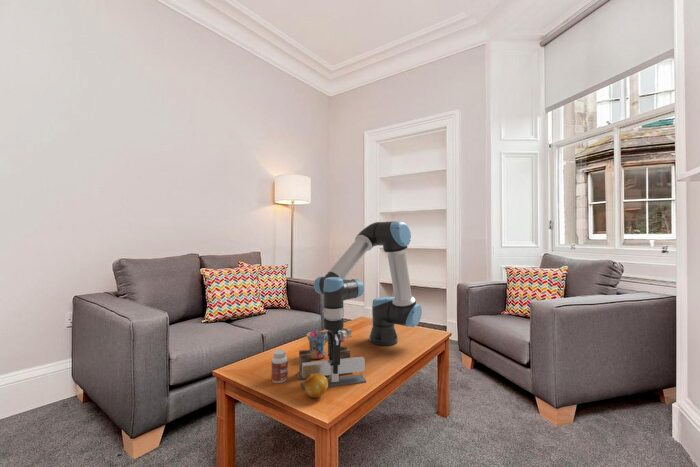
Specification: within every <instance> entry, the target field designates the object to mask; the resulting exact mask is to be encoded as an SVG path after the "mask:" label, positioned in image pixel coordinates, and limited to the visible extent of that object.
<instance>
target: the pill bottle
mask: <svg viewBox="0 0 700 467" xmlns="http://www.w3.org/2000/svg"><path fill="white" fill-rule="evenodd" d="M286 354H287V353H286V350H284V349H277V350H274V351H273V357H272V358H271V381H272V383H274V384H282V383H285V382H286V381H288V378H289V375H288V374H289V373H288V370H289V368H288V367H289V365H288V364H289V363H288V360H289V359H288V357H287V356H286Z"/></svg>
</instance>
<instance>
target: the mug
mask: <svg viewBox="0 0 700 467" xmlns="http://www.w3.org/2000/svg"><path fill="white" fill-rule="evenodd" d="M326 335H327V339H326V340H325V337H326ZM306 337H307V339H308V344H309V345H308V346H309V348H308V350H309V354H311V360H312V359H313V360H319V359H322V358H324V357H325V358H326V356H327V353H326V350H325V345H326V343H328V334H327V333H326V332H325V331H320V330H314V331H309V332H307V333H306Z"/></svg>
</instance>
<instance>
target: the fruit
mask: <svg viewBox="0 0 700 467" xmlns="http://www.w3.org/2000/svg"><path fill="white" fill-rule="evenodd" d="M304 381H305V390H304V391H305V393H306V394H307V395H308V397H309V398H310V397H311V398H314V399H316V398H320V397H321V396H323V395H324V394H325V393H326V392H327V390H328V388H329V387H328V381H327V377H325V376H324V375H322V374H320V373H313V374H309V375H308V376H307V377H306V379H305V380H304Z"/></svg>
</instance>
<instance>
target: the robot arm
mask: <svg viewBox="0 0 700 467" xmlns="http://www.w3.org/2000/svg"><path fill="white" fill-rule="evenodd" d="M411 238H412V234H411V230H410V228H409V226H408V225H407V224H406V223H405V222H403V221H375V222H373V223H371V224H369V225H367V226H365V227H364V228H363V229H362V230H361V231H360V232H359V233H358V234H357V235H355V237H354V242H353V243H351V245H350V247H349V248H347V250H346V251H345V252H344V253H343V254H342V256H341V257H340V258H339V259H338V260H337V262H335V263H334V265H333V266H332V267H331V268H330V270H329V271H328V272H327V273H326V274H325V275H324V276H318V277H316V279H314V282H313V288H314V291H315V293H317V294H319V295H323V310H322V313H323V317H324V319H323V329H324V330H325V331H327V330H329V331H327V334H328V340H327V357H328V360H332V363H330V366H331V375H329V376H328V377H329V378H331V382H338V381H339V377H340V375H339V365H340V346H341V342H342V341H341V340H339V339H340V334H338V331H339V330H341V329H343V328H344V311H345V310H344V307H345V306H344V301H348V300H351V299H356V298H359V297H361V296H362V295H364V291H365V286H364V285H365V284H364V283H363V281H361V280H360V279H359V278H355V279H354V278H351V279H346V278H347V277H348V275H349V274H350V272H352V271H353V269H354V268H355V266H356V265H357V264H358V263H359V261H361V259H362V258H363V256H364V255H365V254H366V253H367V252H368V251H371V250H372V249H373V248H374V247H376V246H382V249H383V252H384V253H386V254H387V259H388V266H389V271H390V277H391V283H392V289H393V294H394V297H393V296H381V297H377V298H374V299H373V300H372V305H371V306H372V307H371V308H372V314H371V316H372V321H371V322H372V327H371V330H370V333H369V338H368V339H369V340H368V341H369V343H371V344H374V345H377V346H392V345H396V344H397V343H398V342H399V338H398V333H397V331H396V328H395V325H398V326H404V327H406V328H408V327H409V328H414V327H416V326H418V325H419V323H420V322H421V318H422V314H423V307H422V305H421V304H419V303H417V302H416V301H417V300H416V298H415V297H414V296H413V294H412V289H411V282H410V276H409V271H408V270H409V268H408V262H407V255H406V250H407V249H408V246H409V245H410V243H411Z"/></svg>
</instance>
